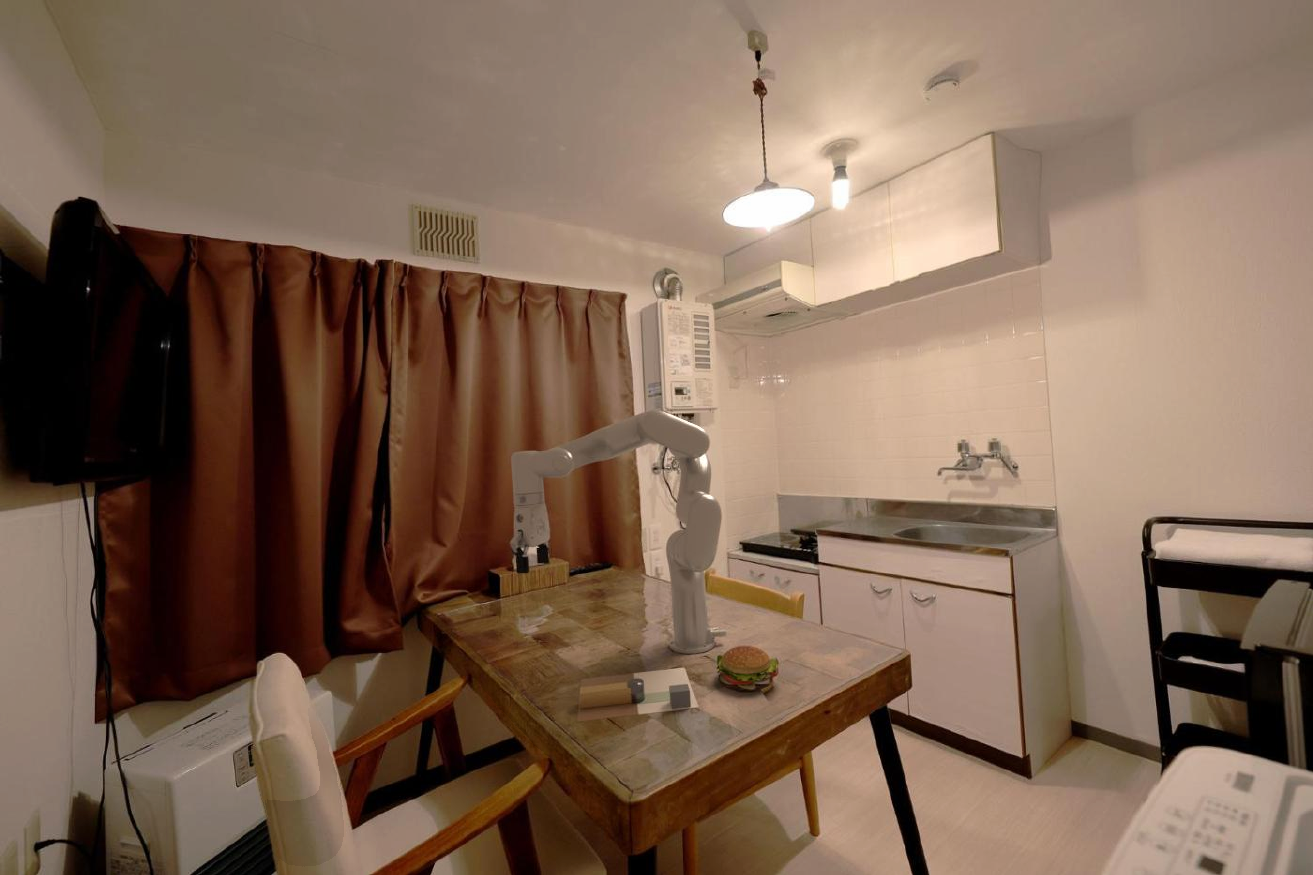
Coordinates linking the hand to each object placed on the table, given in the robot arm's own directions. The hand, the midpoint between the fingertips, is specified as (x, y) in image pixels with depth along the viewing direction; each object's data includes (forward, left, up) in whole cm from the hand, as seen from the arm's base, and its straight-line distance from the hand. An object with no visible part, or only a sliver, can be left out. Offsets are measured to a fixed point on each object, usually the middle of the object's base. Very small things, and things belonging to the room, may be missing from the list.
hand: (533, 567), depth 128 cm
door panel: (-23, +16, -27) cm, 39 cm away
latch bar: (-18, +20, -26) cm, 37 cm away
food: (-49, +16, -28) cm, 58 cm away
